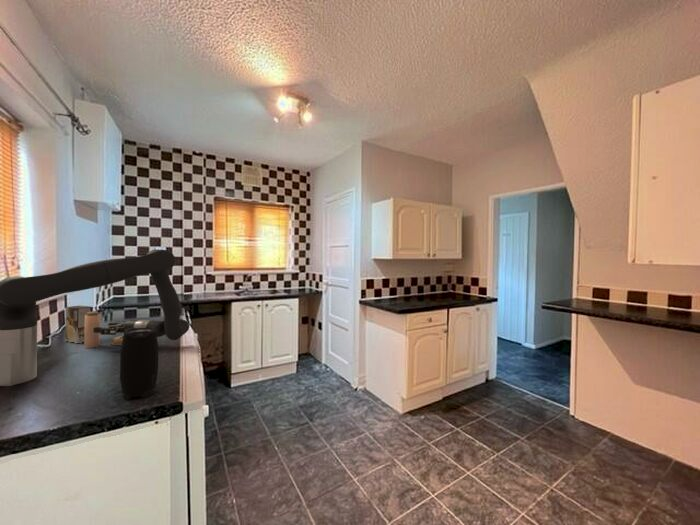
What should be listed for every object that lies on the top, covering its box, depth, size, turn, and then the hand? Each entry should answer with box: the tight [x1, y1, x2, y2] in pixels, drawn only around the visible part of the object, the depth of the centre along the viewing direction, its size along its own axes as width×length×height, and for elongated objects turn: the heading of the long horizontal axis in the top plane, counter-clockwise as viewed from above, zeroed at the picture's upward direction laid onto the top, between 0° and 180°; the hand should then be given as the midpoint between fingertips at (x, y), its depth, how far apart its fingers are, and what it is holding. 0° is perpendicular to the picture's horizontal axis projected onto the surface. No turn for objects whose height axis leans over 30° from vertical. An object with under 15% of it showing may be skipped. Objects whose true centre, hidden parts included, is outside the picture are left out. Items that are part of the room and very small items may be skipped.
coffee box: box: [64, 305, 94, 344], centre depth 142 cm, size 9×6×16 cm
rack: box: [110, 334, 124, 346], centre depth 145 cm, size 12×10×2 cm
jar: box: [83, 310, 101, 349], centre depth 135 cm, size 5×5×15 cm
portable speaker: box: [119, 326, 160, 401], centre depth 91 cm, size 9×9×20 cm
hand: (101, 327), depth 135 cm, fingers open, 8 cm apart
